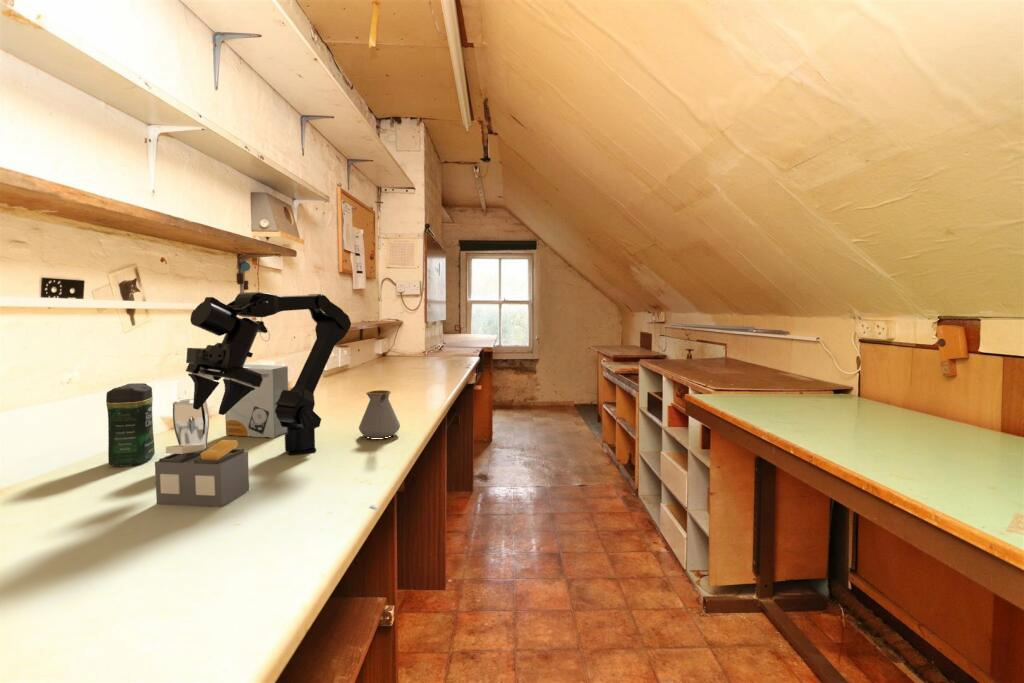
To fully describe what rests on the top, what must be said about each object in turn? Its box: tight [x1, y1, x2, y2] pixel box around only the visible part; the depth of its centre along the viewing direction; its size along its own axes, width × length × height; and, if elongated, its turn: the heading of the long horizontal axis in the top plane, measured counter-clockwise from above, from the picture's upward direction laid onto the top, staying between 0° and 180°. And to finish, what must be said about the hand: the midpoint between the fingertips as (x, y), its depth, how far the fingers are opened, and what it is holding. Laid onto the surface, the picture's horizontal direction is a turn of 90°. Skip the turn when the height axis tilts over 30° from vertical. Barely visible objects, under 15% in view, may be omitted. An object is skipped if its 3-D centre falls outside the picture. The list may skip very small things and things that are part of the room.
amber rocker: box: [201, 439, 239, 460], centre depth 93 cm, size 6×3×1 cm, turn 175°
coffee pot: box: [358, 389, 401, 438], centre depth 134 cm, size 21×12×15 cm, turn 20°
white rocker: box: [165, 444, 205, 455], centre depth 94 cm, size 6×3×1 cm, turn 175°
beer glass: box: [172, 398, 210, 448], centre depth 113 cm, size 7×7×15 cm
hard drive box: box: [223, 363, 289, 439], centre depth 140 cm, size 16×8×20 cm, turn 80°
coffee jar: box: [105, 382, 156, 467], centre depth 115 cm, size 10×8×19 cm
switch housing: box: [154, 447, 250, 508], centre depth 94 cm, size 8×13×8 cm, turn 85°
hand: (208, 411), depth 103 cm, fingers open, 9 cm apart
